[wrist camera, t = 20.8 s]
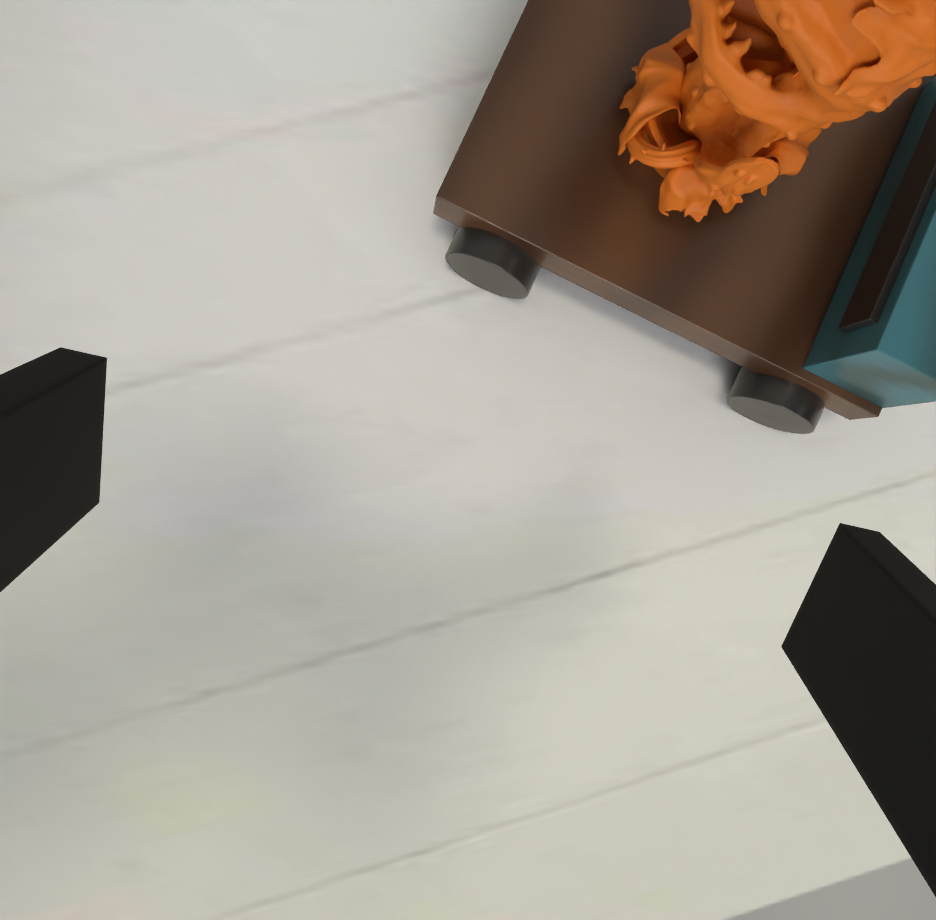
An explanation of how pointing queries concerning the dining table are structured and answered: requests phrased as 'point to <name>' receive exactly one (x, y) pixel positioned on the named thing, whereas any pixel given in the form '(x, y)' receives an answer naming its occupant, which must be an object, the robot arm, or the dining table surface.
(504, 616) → the dining table surface
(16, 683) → the dining table surface
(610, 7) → the toy car
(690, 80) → the orange creature figurine
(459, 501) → the dining table surface
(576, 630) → the dining table surface
